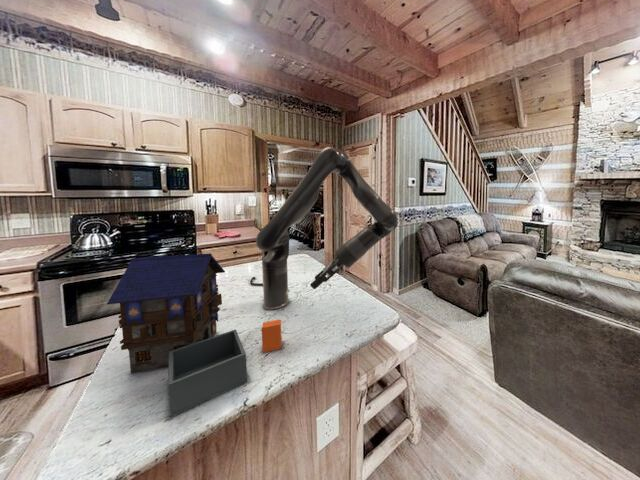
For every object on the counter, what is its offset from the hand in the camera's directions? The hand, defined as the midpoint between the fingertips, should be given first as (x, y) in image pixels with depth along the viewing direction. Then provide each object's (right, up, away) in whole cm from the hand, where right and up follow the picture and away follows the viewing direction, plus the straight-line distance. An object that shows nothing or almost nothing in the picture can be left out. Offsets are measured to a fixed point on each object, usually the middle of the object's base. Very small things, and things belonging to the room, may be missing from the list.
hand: (314, 283), depth 85 cm
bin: (-21, -19, -19) cm, 34 cm away
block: (-11, -18, -6) cm, 22 cm away
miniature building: (-38, -19, -8) cm, 43 cm away
